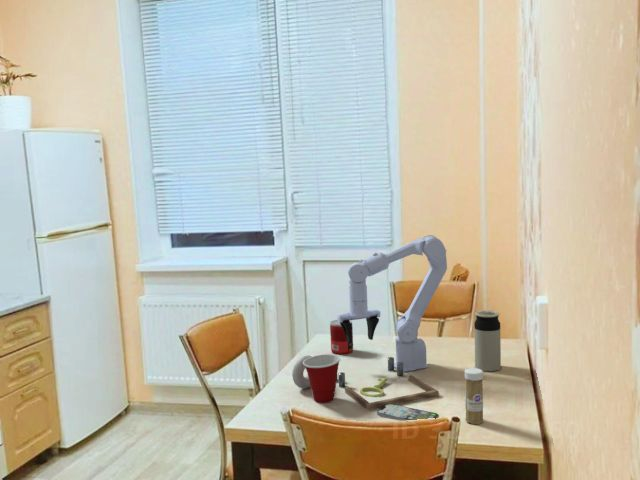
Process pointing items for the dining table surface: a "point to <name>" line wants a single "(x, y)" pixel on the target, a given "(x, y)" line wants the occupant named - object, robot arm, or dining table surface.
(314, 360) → the plastic cup
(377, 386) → the key
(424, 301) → the robot arm
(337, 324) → the canned food
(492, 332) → the travel mug
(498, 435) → the dining table surface
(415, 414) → the smartphone
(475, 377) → the sprinkles bottle
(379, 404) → the bay
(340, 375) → the spacers
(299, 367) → the donut
